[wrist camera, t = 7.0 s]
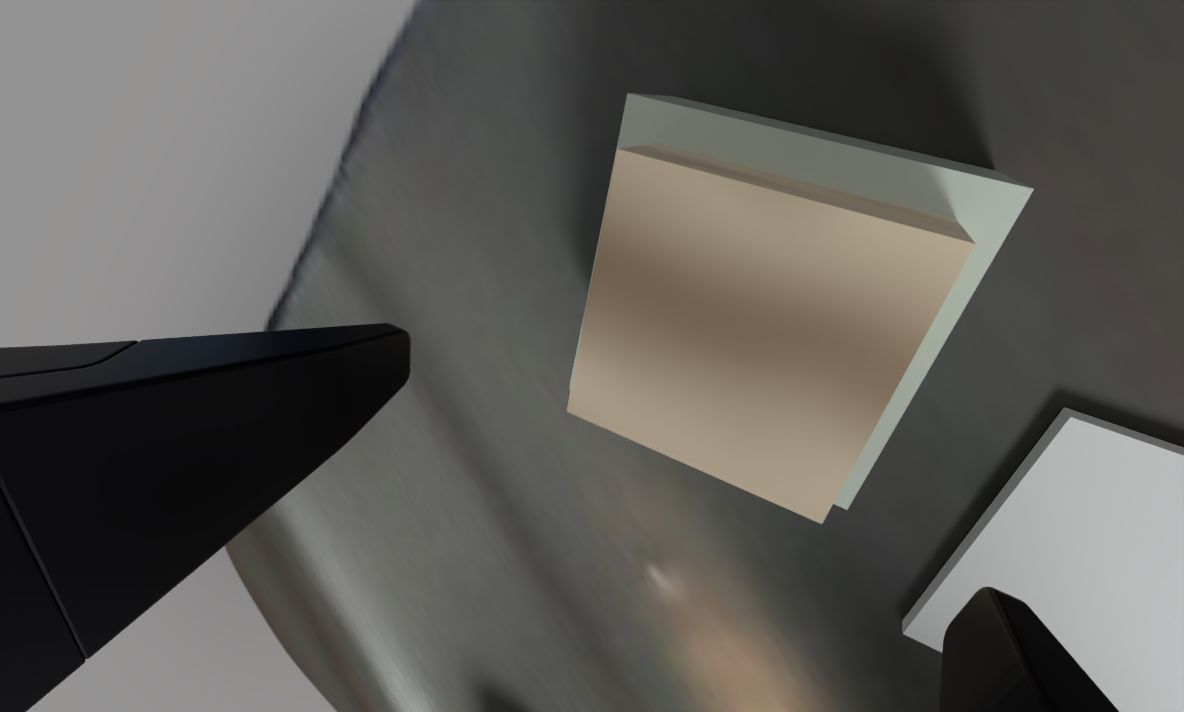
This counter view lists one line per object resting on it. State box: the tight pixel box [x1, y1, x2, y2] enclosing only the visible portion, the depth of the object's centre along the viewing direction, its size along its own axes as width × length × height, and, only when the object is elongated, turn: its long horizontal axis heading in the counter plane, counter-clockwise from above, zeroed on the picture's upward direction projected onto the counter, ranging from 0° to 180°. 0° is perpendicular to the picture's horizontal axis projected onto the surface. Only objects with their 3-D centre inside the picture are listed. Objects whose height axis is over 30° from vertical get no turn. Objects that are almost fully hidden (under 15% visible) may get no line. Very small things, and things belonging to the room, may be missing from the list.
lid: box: [567, 143, 976, 524], centre depth 13 cm, size 7×7×2 cm
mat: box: [902, 407, 1184, 712], centre depth 16 cm, size 10×10×1 cm
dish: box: [569, 93, 1034, 510], centre depth 16 cm, size 9×9×4 cm
